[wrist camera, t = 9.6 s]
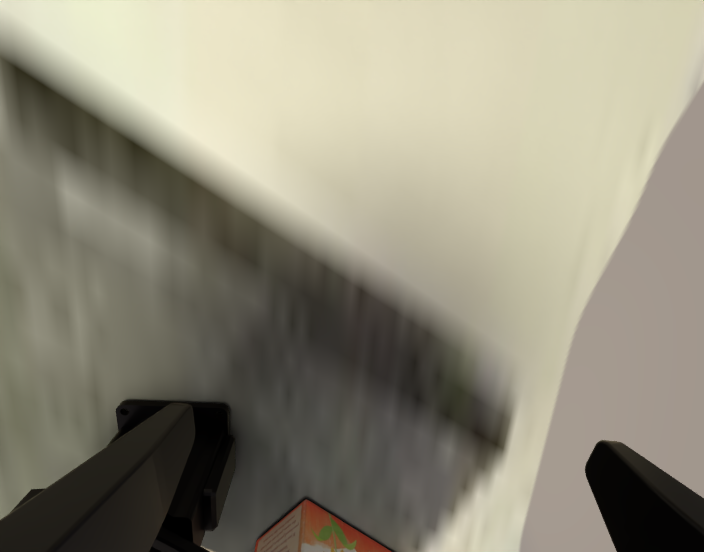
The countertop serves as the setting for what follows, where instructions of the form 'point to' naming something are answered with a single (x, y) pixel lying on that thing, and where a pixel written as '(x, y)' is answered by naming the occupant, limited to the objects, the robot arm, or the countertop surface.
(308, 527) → the cracker box
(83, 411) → the countertop surface
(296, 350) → the countertop surface
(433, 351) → the countertop surface
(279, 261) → the countertop surface
